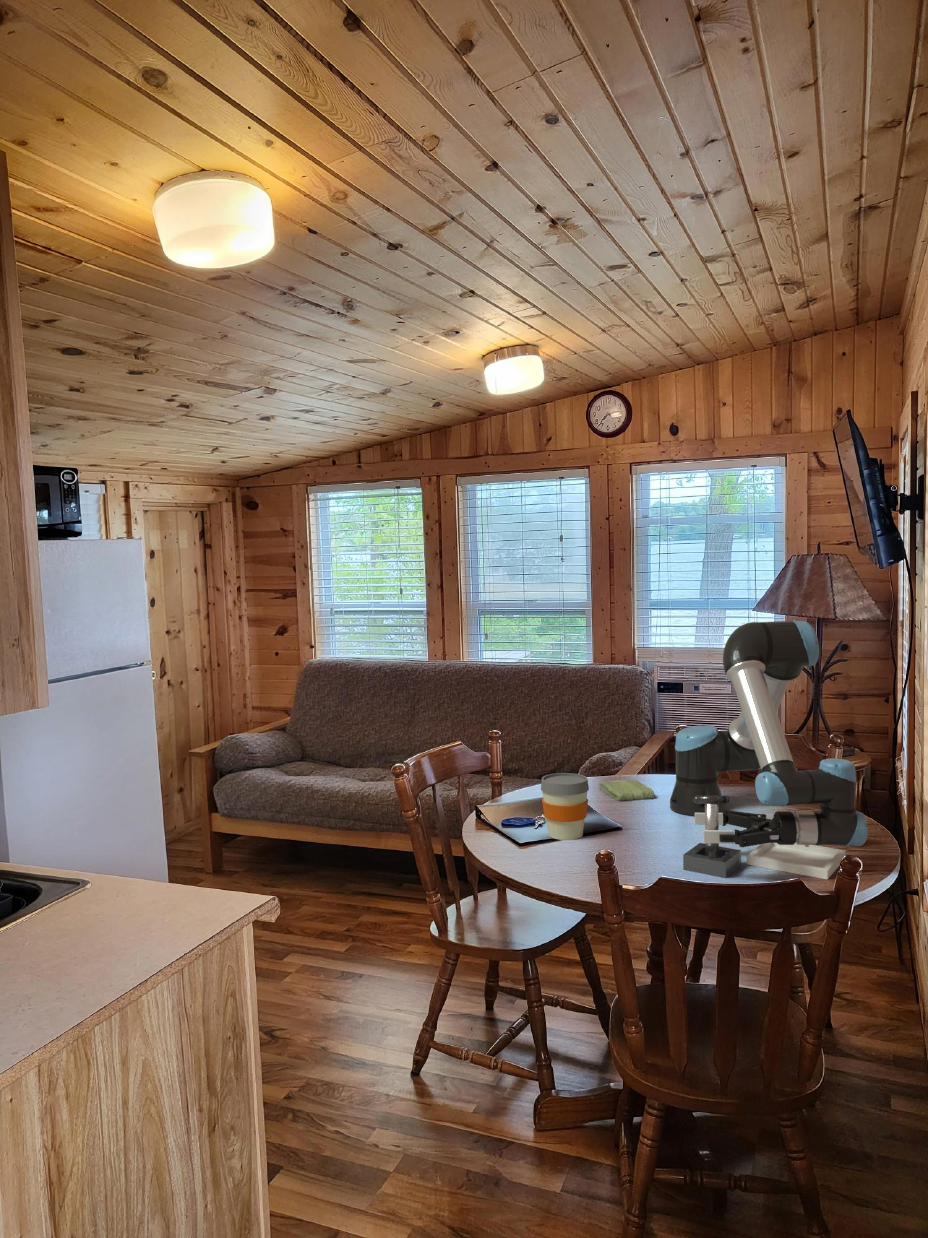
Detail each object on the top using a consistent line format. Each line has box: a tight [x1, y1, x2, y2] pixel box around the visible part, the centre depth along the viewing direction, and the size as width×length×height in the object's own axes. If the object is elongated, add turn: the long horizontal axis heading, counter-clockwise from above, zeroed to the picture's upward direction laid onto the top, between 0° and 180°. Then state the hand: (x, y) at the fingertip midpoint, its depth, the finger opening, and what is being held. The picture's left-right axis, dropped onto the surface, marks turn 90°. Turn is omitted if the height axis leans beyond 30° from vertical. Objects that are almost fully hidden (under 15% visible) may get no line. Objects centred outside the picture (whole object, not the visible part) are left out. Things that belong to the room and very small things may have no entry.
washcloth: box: [599, 779, 656, 802], centre depth 269 cm, size 13×18×3 cm
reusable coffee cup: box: [540, 772, 589, 841], centre depth 230 cm, size 13×13×15 cm
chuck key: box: [693, 795, 730, 858], centre depth 202 cm, size 8×3×16 cm, turn 83°
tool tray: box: [746, 843, 847, 880], centre depth 205 cm, size 18×16×2 cm
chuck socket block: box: [682, 842, 742, 879], centre depth 203 cm, size 10×10×4 cm
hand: (698, 827), depth 203 cm, fingers open, 13 cm apart
